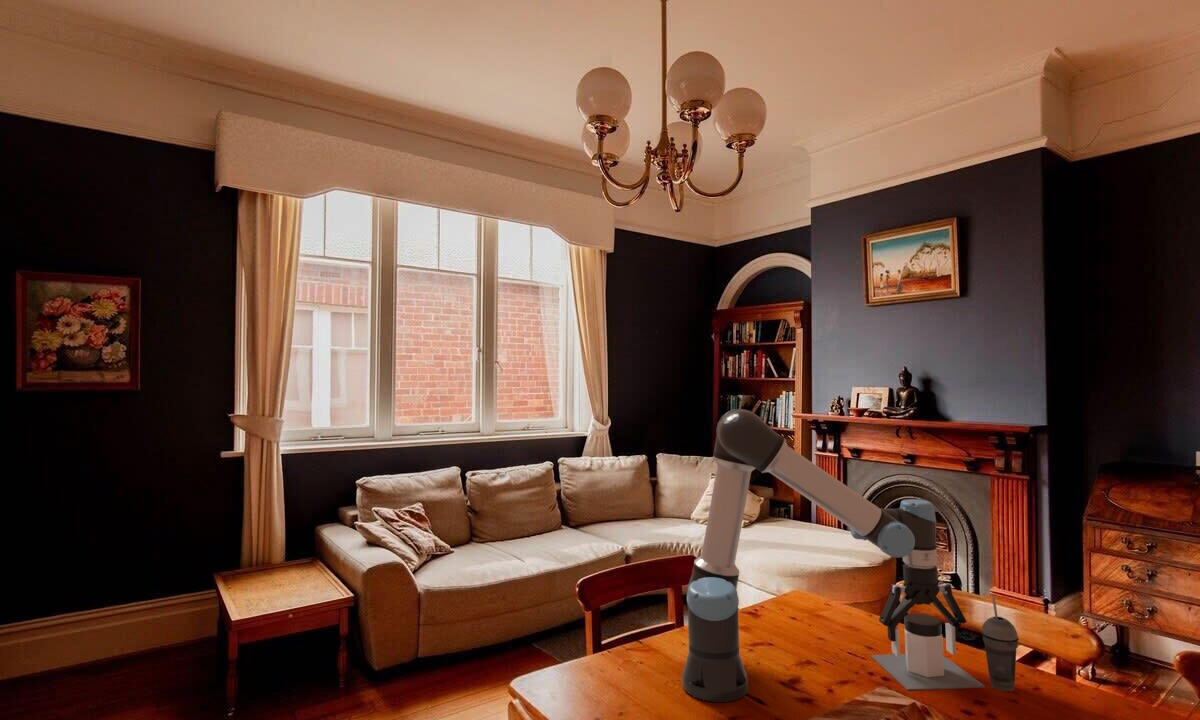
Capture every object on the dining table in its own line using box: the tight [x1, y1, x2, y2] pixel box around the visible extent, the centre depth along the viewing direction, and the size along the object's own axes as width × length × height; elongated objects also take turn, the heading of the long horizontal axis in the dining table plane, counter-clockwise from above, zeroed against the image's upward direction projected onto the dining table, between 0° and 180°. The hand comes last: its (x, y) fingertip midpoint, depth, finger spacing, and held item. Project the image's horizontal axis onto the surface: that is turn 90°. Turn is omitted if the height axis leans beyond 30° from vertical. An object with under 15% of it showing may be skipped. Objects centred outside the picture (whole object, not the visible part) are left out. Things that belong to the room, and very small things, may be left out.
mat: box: [870, 653, 986, 691], centre depth 151 cm, size 18×18×1 cm
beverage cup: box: [981, 595, 1019, 692], centre depth 143 cm, size 7×7×20 cm
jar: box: [903, 613, 945, 678], centre depth 152 cm, size 9×8×12 cm
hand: (923, 653), depth 152 cm, fingers open, 13 cm apart
